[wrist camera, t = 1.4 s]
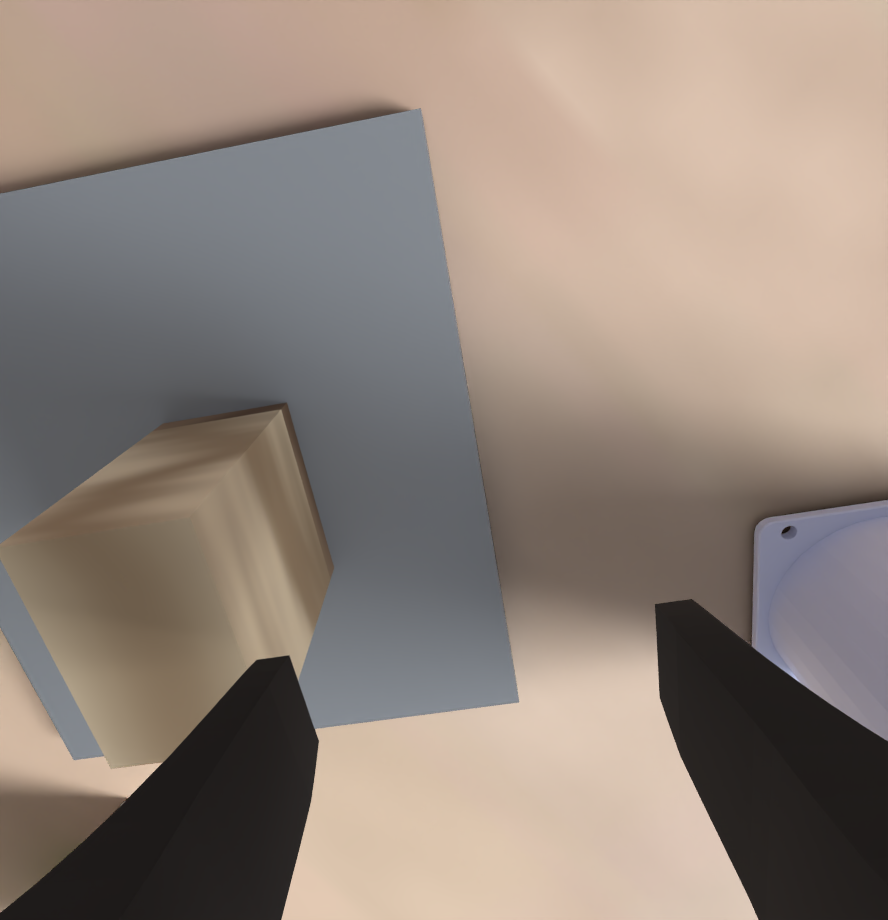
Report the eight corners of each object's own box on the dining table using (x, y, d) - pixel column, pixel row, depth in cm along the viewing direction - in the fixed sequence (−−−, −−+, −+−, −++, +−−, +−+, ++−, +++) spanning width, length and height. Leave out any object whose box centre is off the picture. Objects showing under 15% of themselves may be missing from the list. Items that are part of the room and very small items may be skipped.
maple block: (286, 402, 18) (189, 517, 11) (334, 568, 21) (277, 747, 14) (162, 423, 19) (-6, 548, 12) (222, 584, 21) (111, 768, 14)
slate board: (422, 114, 16) (420, 108, 15) (516, 683, 24) (518, 702, 23) (-182, 236, 18) (-217, 237, 17) (87, 739, 25) (73, 759, 24)
